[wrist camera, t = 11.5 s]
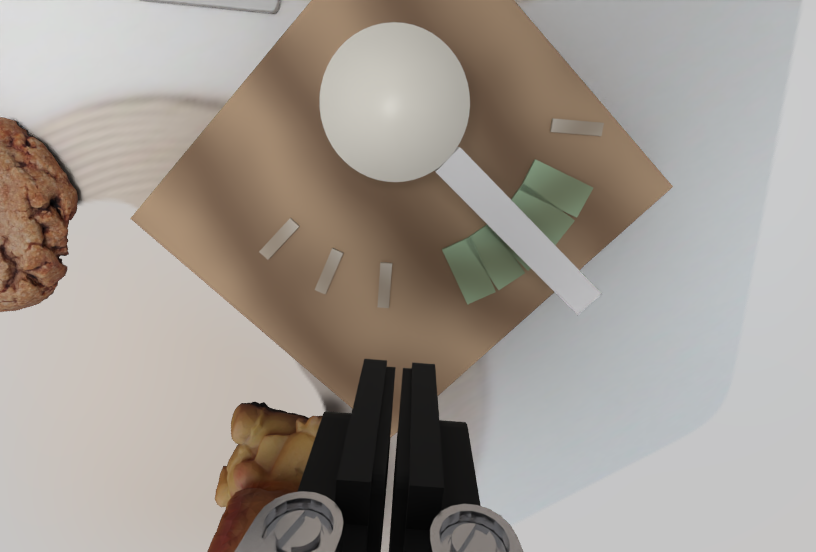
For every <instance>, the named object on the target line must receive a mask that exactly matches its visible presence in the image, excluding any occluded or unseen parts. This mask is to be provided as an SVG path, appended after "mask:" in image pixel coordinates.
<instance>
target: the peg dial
mask: <svg viewBox="0 0 816 552" xmlns="http://www.w3.org/2000/svg"><path fill="white" fill-rule="evenodd" d="M469 111H470V93H469V88H468V82H467V79H466V76H465V73H464V71H463V68H462V66H461V64H460V62H459V60H458V59H457V57H456V56H455V54H454V53H453V52H452V50H451V49H450V48H449V47H448V46H447V45H446V44H445V43H444V42H443V41H442V40H441V39H440V38H438V37H437V36H436V35H434V34H433V33H431V32H429V31H427V30H425V29H423V28H421V27H418V26H415V25H412V24H407V23H398V22H390V23H381V24H377V25H373V26H370V27H368V28H365V29H363V30H361V31H359V32H358V33H356V34H354V35H353V36H352V37H350V38H349V39H348V40H346V41H345V42H344V43H343V44H342V45H341V47H340V48H339V49H338V50H337V51H336V53H335V54H334V55H333V57H332V58H331V60H330V62H329V64H328V66H327V68H326V71H325V73H324V76H323V80H322V84H321V89H320V114H321V120H322V124H323V128H324V130H325V133H326V135H327V138H328V140H329V141H330V143H331V145H332V147H333V148H334V150H335V151H336V152H337V154H338V155H339V156H340V157H341V158H342V159H343V160H344V161H345V162H346V163H347V164H348V165H349V166H350V167H352V168H353V169H355V170H356V171H358V172H359V173H361V174H363V175H365V176H367V177H370V178H373V179H376V180H380V181H386V182H405V181H410V180H415V179H418V178H420V177H423V176H425V175H427V174H429V173H431V172H433V171H435V172H436V173H437V174H438V175H439V176H440V177H441V178H442V179H443V180H444V181H445V182H446V183H447V184H448V185H449V186H450V187H451V188H452V189H453V190H454V191H455V192H456V193H457V194H458V195H459V196H460V197H461V198H462V199H463V200H464V201H465V202H466V203H467V204H468V205H469V206H470V207H471V208H472V209H473V210H474V211H475V213H476V214H477V215H478V216H479V217H480V218H481V219H482V220H483V221H484V222H485V223H486V224H487V225H488V226H489V227H490V228H491V229H492V230H493V231H494V232H495V233H496V234H497V235H498V236H499V237H500V238H501V239H502V240H503V241H504V242H505V243H506V244H507V245H508V246H509V247H510V248H511V249H512V250H513V251H514V252H515V253H516V254H517V255H518V256H519V257H520V258H521V259H522V260H523V261H524V262H525V263H526V264H527V265H528V266H529V267H530V268H531V269H532V270H533V271H534V272H535V273H536V274H537V275H538V276H539V277H540V278H541V279H542V280H543V281H544V282H545V283H546V284H547V285H548V286H549V287H550V288H551V289H552V290H553V291H554V292H555V293H556V294H557V295H558V296H559V297H560V298H561V299H562V300H563V301H564V302H565V303H566V304H567V305H568V306H569V307H570V308H571V309H572V310H573V311H574V312H575V313H576V314H577V315H579V314H580V313H581V312H582V311H583V310H584V309H586V308H587V307H588V306H589V305H590V304H591V303H592V302H594V301H595V300H596V299H597V298H598V297H599V296H600V295H601V294H602V293H601V292H600V291H599V290H598V289H597V288H596V287H595V286H594V285H593V284H592V283H591V282H590V281H589V280H588V279H587V278H586V277H585V276H584V275H583V274H582V273H581V272H580V271H579V270H578V268H577V267H576V266H575V265H574V264H573V263H572V262H571V261H570V260H569V259H568V258H567V257H566V256H565V255H564V254H563V253H562V252H561V251H560V250H559V249H558V248H557V247H556V246H555V245H554V244H553V243H552V242H551V241H550V240H549V239H548V237H547V236H546V235H545V234H544V233H543V232H542V231H541V230H540V229H539V228H538V227H537V226H536V225H535V224H534V223H533V222H532V221H531V220H530V219H529V218H528V217H527V216H526V215H525V214H524V213H523V212H522V211H521V210H520V209H519V208H518V206H517V205H516V204H515V203H514V202H513V201H512V200H511V199H510V198H509V197H508V196H507V195H506V194H505V193H504V192H503V191H502V190H501V189H500V188H499V187H498V186H497V185H496V184H495V183H494V182H493V181H492V180H491V179H490V178H489V177H488V175H487V174H486V173H485V172H484V171H483V170H482V169H481V168H480V167H479V166H478V165H477V164H476V163H475V162H474V161H473V160H472V159H471V158H470V157H469V156H468V155H467V154H466V153H465V152H464V151H463V150H462V149H461V148H460V147H458V145H459V143H460V141H461V139H462V137H463V135H464V133H465V130H466V127H467V123H468V118H469Z"/></svg>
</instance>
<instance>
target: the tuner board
mask: <svg viewBox="0 0 816 552" xmlns="http://www.w3.org/2000/svg"><path fill="white" fill-rule="evenodd" d="M390 22H398V23H407V24H412V25H415V26H418V27H421V28H423V29H425V30H427V31H429V32H431V33H433V34H434V35H436V36H437V37H438V38H440V39H441V40H442V41H443V42H444V43H445V44H446V45H447V46H448V47H449V48H450V49H451V50H452V52H453V53H454V54H455V56H456V57H457V59H458V60H459V62H460V64H461V66H462V68H463V71H464V73H465V76H466V79H467V82H468V88H469V93H470V111H469V118H468V123H467V127H466V130H465V133H464V135H463V137H462V139H461V141H460V143H459V145H458V147H460V148H461V149H462V150H463V151H464V152H465V153H466V154H467V155H468V156H469V157H470V158H471V159H472V160H473V161H474V162H475V163H476V164H477V165H478V166H479V167H480V168H481V169H482V170H483V171H484V172H485V173H486V174H487V175H488V177H489V178H490V179H491V180H492V181H493V182H494V183H495V184H496V185H497V186H498V187H499V188H500V189H501V190H502V191H503V192H504V193H505V194H506V195H507V196H508V197H509V198H510V199H511V200H512V201H513V202H514V203H515V204H516V205H517V206H518V208H519V209H520V210H521V211H522V212H523V213H524V214H525V215H526V216H527V217H528V218H529V219H530V220H531V221H532V222H533V223H534V224H535V225H536V226H537V227H538V228H539V229H540V230H541V231H542V232H543V233H544V234H545V235H546V236H547V237H548V239H549V240H550V241H551V242H552V243H553V244H554V245H555V246H556V247H557V248H558V249H559V250H560V251H561V252H562V253H563V254H564V255H565V256H566V257H567V258H568V259H569V260H570V261H571V262H572V263H573V264H574V265H575V266H576V267H577V268H578V270H580V269H581V268H582V267H583V266H584V265H585V264H587V263H588V262H589V261H590V260H591V259H592V258H593V257H594V256H596V255H597V254H598V253H599V252H600V251H601V250H602V249H603V248H605V247H606V246H607V245H608V244H609V243H610V242H611V241H612V240H614V239H615V238H616V237H617V236H618V235H619V234H620V233H621V232H623V231H624V230H625V229H626V228H627V227H628V226H629V225H630V224H632V223H633V222H634V221H635V220H636V219H637V218H638V217H639V216H641V215H642V214H643V213H644V212H645V211H646V210H647V209H648V208H650V207H651V206H652V205H653V204H654V203H655V202H656V201H657V200H659V199H660V198H661V197H662V196H663V195H664V194H665V193H666V192H668V191H669V190H670V189H671V188H672V187H673V186H672V185H671V184H670V183H669V182H668V180H667V179H666V178H665V177H664V176H663V175H662V173H661V172H660V171H659V170H658V169H657V168H656V166H655V165H654V164H653V163H652V162H651V161H650V159H649V158H648V157H647V156H646V155H645V154H644V152H643V151H642V150H641V149H640V148H639V146H638V145H637V144H636V143H635V142H634V141H633V139H632V138H631V137H630V136H629V135H628V134H627V132H626V131H625V130H624V129H623V128H622V127H621V125H620V124H619V123H618V122H617V121H616V120H615V118H614V117H613V116H612V115H611V114H610V112H609V111H608V110H607V109H606V108H605V107H604V105H603V104H602V103H601V102H600V101H599V100H598V98H597V97H596V96H595V95H594V94H593V93H592V91H591V90H590V89H589V88H588V87H587V86H586V84H585V83H584V82H583V81H582V80H581V78H580V77H579V76H578V75H577V74H576V73H575V71H574V70H573V69H572V68H571V67H570V66H569V64H568V63H567V62H566V61H565V60H564V59H563V57H562V56H561V55H560V54H559V53H558V51H557V50H556V49H555V48H554V47H553V46H552V44H551V43H550V42H549V41H548V40H547V39H546V37H545V36H544V35H543V34H542V33H541V32H540V30H539V29H538V28H537V27H536V26H535V25H534V23H533V22H532V21H531V20H530V19H529V17H528V16H527V15H526V14H525V13H524V12H523V10H522V9H521V8H520V7H519V6H518V5H517V3H516V2H515V1H514V0H311V2H310V3H309V4H308V5H307V6H306V8H305V9H304V10H303V11H302V12H301V14H300V15H299V16H298V17H297V19H296V20H295V21H294V22H293V23H292V25H291V26H290V27H289V28H288V29H287V31H286V32H285V33H284V34H283V35H282V37H281V38H280V39H279V40H278V41H277V43H276V44H275V45H274V46H273V47H272V49H271V50H270V51H269V52H268V53H267V55H266V56H265V57H264V58H263V59H262V61H261V62H260V63H259V64H258V65H257V67H256V68H255V69H254V70H253V72H252V73H251V74H250V75H249V76H248V78H247V79H246V80H245V81H244V82H243V84H242V85H241V86H240V87H239V88H238V90H237V91H236V92H235V93H234V94H233V96H232V97H231V98H230V99H229V100H228V102H227V103H226V104H225V105H224V106H223V108H222V109H221V110H220V111H219V112H218V114H217V115H216V116H215V117H214V118H213V120H212V121H211V122H210V123H209V124H208V126H207V127H206V128H205V129H204V131H203V132H202V133H201V134H200V135H199V137H198V138H197V139H196V140H195V141H194V143H193V144H192V145H191V146H190V147H189V149H188V150H187V151H186V152H185V153H184V155H183V156H182V157H181V158H180V159H179V161H178V162H177V163H176V164H175V165H174V167H173V168H172V169H171V170H170V171H169V173H168V174H167V175H166V176H165V177H164V179H163V180H162V181H161V182H160V184H159V185H158V186H157V187H156V188H155V190H154V191H153V192H152V193H151V194H150V196H149V197H148V198H147V199H146V200H145V202H144V203H143V204H142V205H141V206H140V208H139V209H138V210H137V211H136V212H135V214H134V215H133V216H132V217H131V219H132V220H133V221H134V222H135V223H136V224H138V225H139V226H140V227H141V228H142V229H143V230H145V231H146V232H147V233H148V234H149V235H150V236H152V237H153V238H154V239H155V240H156V241H157V242H158V243H160V244H161V245H162V246H163V247H164V248H165V249H167V250H168V251H169V252H170V253H171V254H173V255H174V256H175V257H176V258H177V259H178V260H180V261H181V262H182V263H183V264H184V265H185V266H187V267H188V268H189V269H190V270H191V271H192V272H194V273H195V274H196V275H197V276H198V277H199V278H201V279H202V280H203V281H204V282H205V283H206V284H208V285H209V286H210V287H211V288H212V289H213V290H215V291H216V292H217V293H218V294H219V295H220V296H222V297H223V298H224V299H225V300H226V301H227V302H229V303H230V304H231V305H232V306H233V307H234V308H236V309H237V310H238V311H239V312H240V313H241V314H243V315H244V316H245V317H246V318H247V319H249V320H250V321H251V322H252V323H253V324H255V325H256V326H257V327H258V328H259V329H260V330H261V331H262V332H264V333H265V334H266V335H267V336H268V337H269V338H271V339H272V340H273V341H274V342H275V343H276V344H278V345H279V346H280V347H281V348H282V349H284V350H285V351H286V352H287V353H288V354H289V355H290V356H292V357H293V358H294V359H295V360H296V361H297V362H299V363H300V364H301V365H302V366H303V367H304V368H306V369H307V370H308V371H309V372H310V373H311V374H313V375H314V376H315V377H316V378H317V379H318V380H320V381H321V382H322V383H323V384H324V385H325V386H327V387H328V388H329V389H330V390H331V391H332V392H334V393H335V394H336V395H337V396H338V397H339V398H341V399H342V400H343V401H344V402H345V403H346V404H348V405H349V406H350V407H351V408H352V409H353V405H354V401H355V397H356V392H357V388H358V384H359V379H360V375H361V371H362V366H363V362H364V359H375V360H387V367H396V369H395V382H394V395H393V409H392V422H391V435H390V438H391V437H392V436H393V435H394V434H395V433H397V432H398V422H399V409H400V397H401V385H402V373H403V368H412V362H413V363H426V364H435V369H436V383H437V396H438V395H439V394H440V393H442V392H443V391H444V390H445V389H446V388H447V387H448V386H449V385H451V384H452V383H453V382H454V381H455V380H456V379H457V378H458V377H460V376H461V375H462V374H463V373H464V372H465V371H466V370H467V369H469V368H470V367H471V366H472V365H473V364H474V363H475V362H476V361H478V360H479V359H480V358H481V357H482V356H483V355H484V354H485V353H487V352H488V351H489V350H490V349H491V348H492V347H493V346H494V345H496V344H497V343H498V342H499V341H500V340H501V339H502V338H503V337H505V336H506V335H507V334H508V333H509V332H510V331H511V330H512V329H514V328H515V327H516V326H517V325H518V324H519V323H520V322H521V321H523V320H524V319H525V318H526V317H527V316H528V315H529V314H530V313H532V312H533V311H534V310H535V309H536V308H537V307H538V306H539V305H541V304H542V303H543V302H544V301H545V300H546V299H547V298H548V297H550V296H551V295H552V294H553V293H554V291H553V290H552V289H551V288H550V287H549V286H548V285H547V284H546V283H545V282H544V281H543V280H542V279H541V278H540V277H539V276H538V275H537V274H536V273H535V272H534V271H533V270H532V269H531V268H530V267H529V266H528V265H527V264H526V263H525V262H524V261H523V260H522V259H521V258H520V257H519V256H518V255H517V254H516V253H515V252H514V251H513V250H512V249H511V248H510V247H509V246H508V245H507V244H506V243H505V242H504V241H503V240H502V239H501V238H500V237H499V236H498V235H497V234H496V233H495V232H494V231H493V230H492V229H491V228H490V227H489V226H488V225H487V224H486V223H485V222H484V221H483V220H482V219H481V218H480V217H479V216H478V215H477V214H476V213H475V211H474V210H473V209H472V208H471V207H470V206H469V205H468V204H467V203H466V202H465V201H464V200H463V199H462V198H461V197H460V196H459V195H458V194H457V193H456V192H455V191H454V190H453V189H452V188H451V187H450V186H449V185H448V184H447V183H446V182H445V181H444V180H443V179H442V178H441V177H440V176H439V175H438V174H437V173H436V172H435V171H433V172H431V173H429V174H427V175H425V176H423V177H420V178H418V179H415V180H410V181H405V182H386V181H380V180H376V179H373V178H370V177H367V176H365V175H363V174H361V173H359V172H358V171H356V170H355V169H353V168H352V167H350V166H349V165H348V164H347V163H346V162H345V161H344V160H343V159H342V158H341V157H340V156H339V155H338V154H337V152H336V151H335V150H334V148H333V147H332V145H331V143H330V141H329V140H328V138H327V135H326V133H325V130H324V128H323V124H322V120H321V114H320V89H321V84H322V80H323V76H324V73H325V71H326V68H327V66H328V64H329V62H330V60H331V58H332V57H333V55H334V54H335V53H336V51H337V50H338V49H339V48H340V47H341V45H342V44H343V43H344V42H345V41H346V40H348V39H349V38H350V37H352V36H353V35H354V34H356V33H358V32H359V31H361V30H363V29H365V28H368V27H370V26H373V25H377V24H381V23H390Z"/></svg>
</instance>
